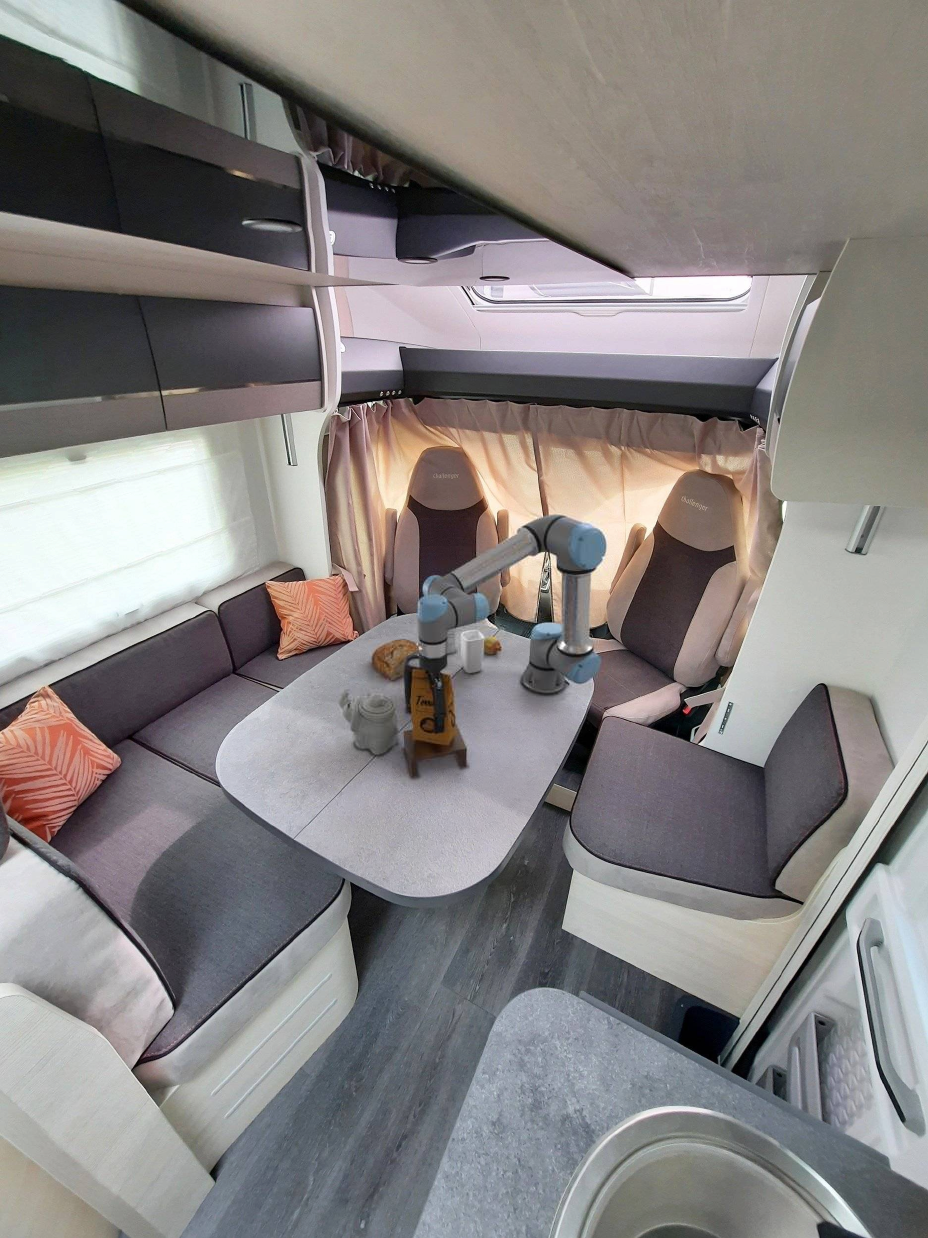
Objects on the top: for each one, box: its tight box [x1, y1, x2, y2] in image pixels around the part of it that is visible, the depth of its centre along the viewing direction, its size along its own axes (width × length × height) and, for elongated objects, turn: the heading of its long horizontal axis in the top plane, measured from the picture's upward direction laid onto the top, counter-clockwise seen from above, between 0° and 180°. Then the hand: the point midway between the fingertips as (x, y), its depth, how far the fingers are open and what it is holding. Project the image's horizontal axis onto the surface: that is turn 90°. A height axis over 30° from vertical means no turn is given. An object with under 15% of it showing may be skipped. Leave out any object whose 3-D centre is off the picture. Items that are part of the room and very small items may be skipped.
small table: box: [402, 723, 468, 778], centre depth 149 cm, size 16×12×7 cm
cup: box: [460, 629, 485, 674], centre depth 189 cm, size 7×7×15 cm
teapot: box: [338, 688, 399, 756], centre depth 152 cm, size 16×15×19 cm
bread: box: [371, 638, 419, 681], centre depth 193 cm, size 20×18×10 cm
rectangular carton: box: [447, 628, 456, 654], centre depth 203 cm, size 9×9×15 cm
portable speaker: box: [403, 655, 423, 715], centre depth 166 cm, size 9×9×20 cm
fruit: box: [483, 636, 503, 655], centre depth 203 cm, size 7×7×10 cm
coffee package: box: [410, 669, 457, 746], centre depth 141 cm, size 10×12×22 cm
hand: (434, 718), depth 144 cm, fingers closed on coffee package, 11 cm apart
